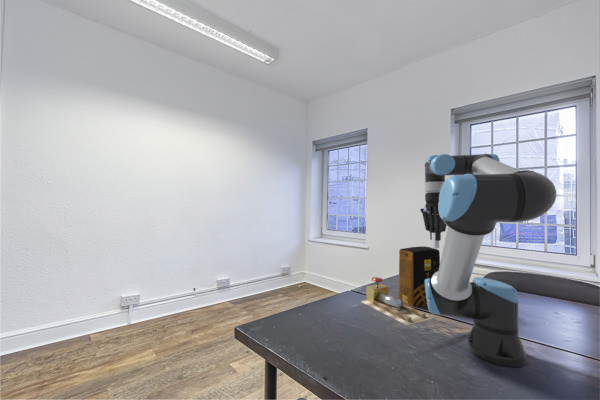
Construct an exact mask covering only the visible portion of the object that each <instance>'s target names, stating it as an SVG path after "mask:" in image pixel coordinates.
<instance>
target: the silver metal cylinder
mask: <svg viewBox="0 0 600 400" xmlns="http://www.w3.org/2000/svg"><path fill="white" fill-rule="evenodd" d="M378 301H379V302H380V303H382V304H384V305H386V306H388V307H391V308H393V309H395V310H397V311H401V310H402V308H403V304H404V303H403V301H402V300H400V299H399V297H394V296H391V295H390V294H388V295H387V294H384V293H381V294H380V295H379V297H378Z"/></svg>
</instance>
